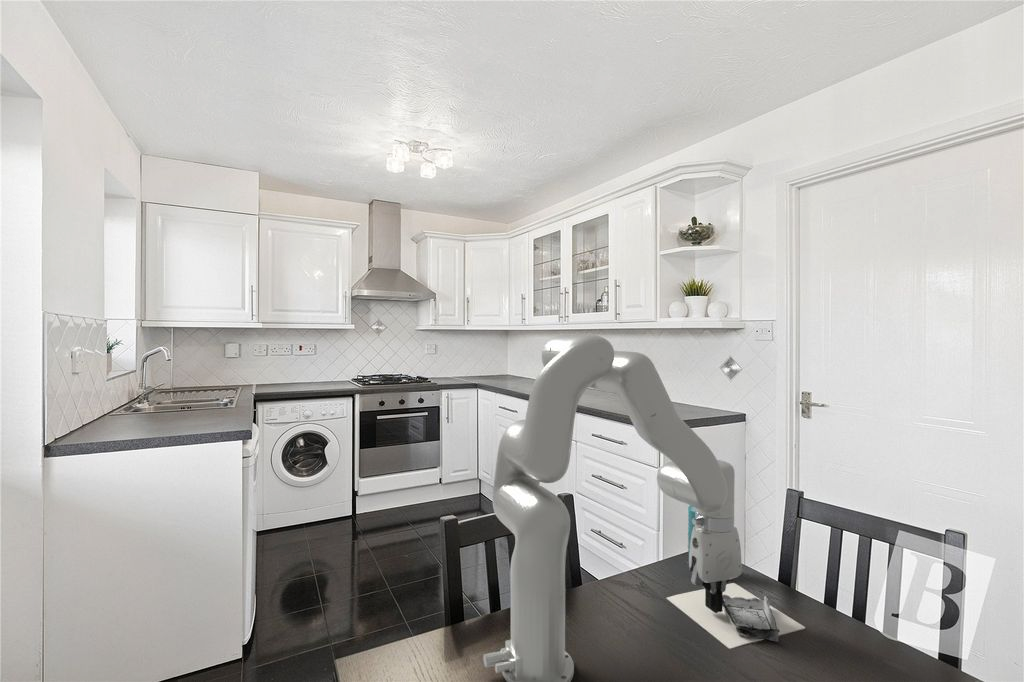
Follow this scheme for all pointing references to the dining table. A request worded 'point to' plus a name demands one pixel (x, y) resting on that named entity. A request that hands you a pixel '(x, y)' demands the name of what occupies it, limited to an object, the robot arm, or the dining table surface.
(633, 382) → the robot arm
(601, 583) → the dining table surface
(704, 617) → the mat
